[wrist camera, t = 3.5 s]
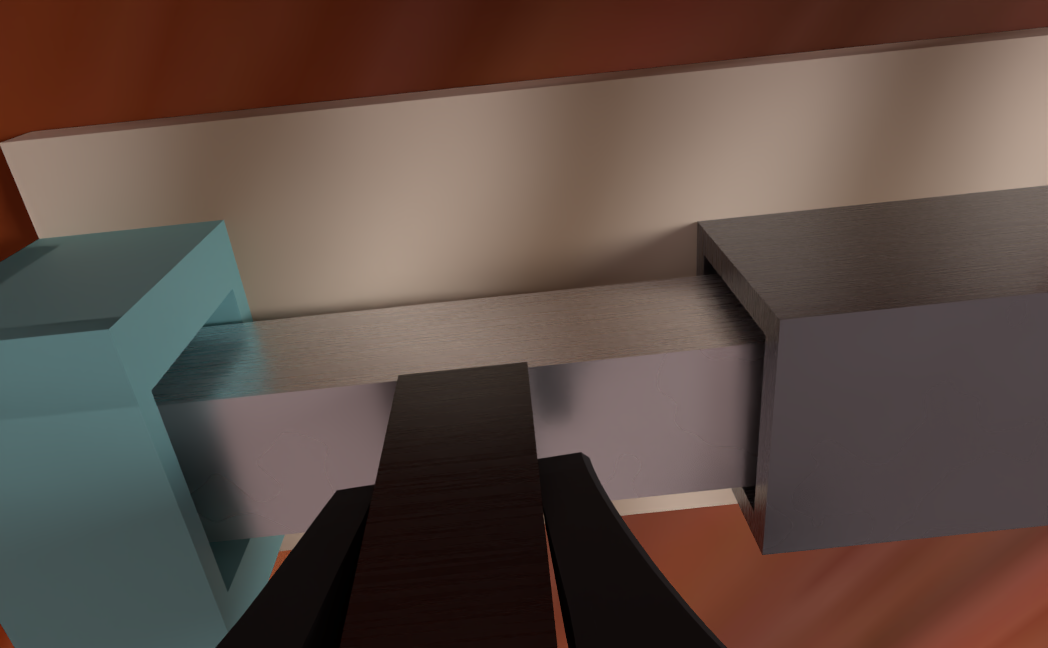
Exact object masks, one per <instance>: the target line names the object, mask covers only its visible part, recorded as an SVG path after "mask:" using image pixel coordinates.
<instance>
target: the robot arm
mask: <svg viewBox="0 0 1048 648" xmlns="http://www.w3.org/2000/svg"><path fill="white" fill-rule="evenodd" d="M538 468H539V478H540V487H541V497H542V506H543V514H544V520H545V525H546V531H547V536H548V541H549V547H550V552H551V558H552V563H553V568H554V574H555V579H556V585H557V590H558V595H559V601H560V606H561V612H562V617H563V622H564V628H565V633H566V638H567V643H568V647H569V648H727V647H726V646H725V645H724V644H723V643H722V642H721V641H720V640H719V639H718V638H717V637H716V636H715V635H714V634H713V632H712V631H711V630H710V629H709V628H708V627H707V626H706V625H705V624H704V623H703V621H702V620H701V619H700V618H699V617H698V616H697V615H696V613H695V612H694V611H693V610H692V609H691V608H690V607H689V605H688V604H687V603H686V602H685V601H684V599H683V598H682V597H681V596H680V595H679V593H678V592H677V591H676V590H675V589H674V587H673V586H672V585H671V584H670V583H669V581H668V580H667V579H666V578H665V576H664V575H663V574H662V573H661V571H660V570H659V569H658V567H657V566H656V565H655V564H654V562H653V561H652V560H651V558H650V557H649V555H648V554H647V553H646V551H645V550H644V549H643V547H642V546H641V544H640V543H639V542H638V540H637V539H636V538H635V536H634V535H633V533H632V532H631V531H630V529H629V528H628V526H627V525H626V523H625V522H624V520H623V519H622V517H621V516H620V514H619V513H618V511H617V510H616V508H615V506H614V505H613V503H612V501H611V500H610V498H609V497H608V495H607V493H606V491H605V490H604V488H603V486H602V484H601V482H600V480H599V478H598V477H597V474H596V472H595V470H594V468H593V465H592V463H591V460H590V458H589V457H588V456H586V455H585V454H583V453H582V452H578V453H572V454H565V455H559V456H552V457H546V458H540V459H538ZM374 486H375V484H374V485H367V486H361V487H354V488H348V489H342V490H337V491H336V492H335V493H334V495H333V496H332V497H331V499H330V500H329V501H328V502H327V504H326V505H325V506H324V508H323V509H322V510H321V512H320V513H319V514H318V516H317V517H316V518H315V520H314V521H313V522H312V524H311V525H310V526H309V528H308V529H307V531H306V532H305V533H304V535H303V536H302V537H301V539H300V540H299V541H298V543H297V544H296V546H295V547H294V548H293V550H292V551H291V552H290V554H289V555H288V556H287V558H286V559H285V560H284V562H283V563H282V564H281V566H280V567H279V568H278V570H277V571H276V572H275V574H274V575H273V576H272V578H271V579H270V580H269V581H268V583H267V584H266V585H265V587H264V588H263V589H262V591H261V592H260V593H259V594H258V596H257V597H256V598H255V600H254V601H253V602H252V603H251V605H250V606H249V607H248V609H247V610H246V611H245V613H244V614H243V615H242V616H241V618H240V619H239V620H238V621H237V622H236V624H235V625H234V626H233V627H232V628H231V630H230V631H229V632H228V633H227V634H226V636H225V637H224V638H223V639H222V640H221V642H220V643H219V644H218V645H217V646H216V647H215V648H339V647H340V643H341V638H342V633H343V629H344V624H345V620H346V615H347V610H348V606H349V601H350V596H351V592H352V587H353V583H354V578H355V573H356V569H357V564H358V559H359V555H360V550H361V546H362V541H363V536H364V532H365V527H366V522H367V518H368V513H369V509H370V504H371V499H372V495H373V490H374Z"/></svg>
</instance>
